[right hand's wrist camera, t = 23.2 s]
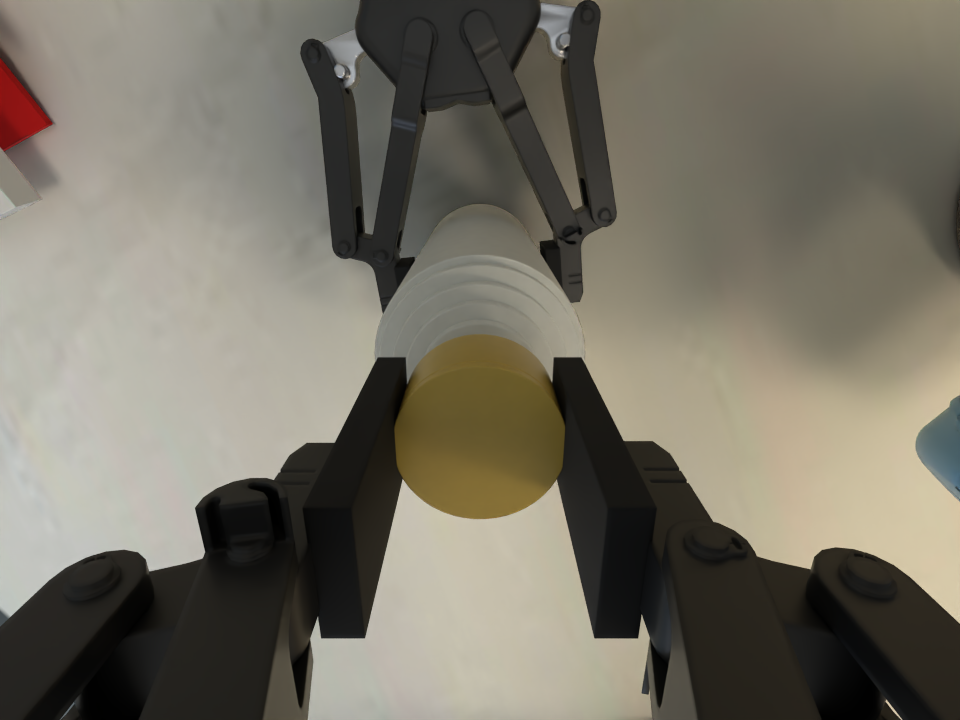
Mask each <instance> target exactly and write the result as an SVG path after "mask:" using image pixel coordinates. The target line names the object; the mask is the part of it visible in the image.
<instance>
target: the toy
mask: <svg viewBox="0 0 960 720" xmlns="http://www.w3.org/2000/svg"><path fill="white" fill-rule="evenodd" d="M52 124H53V123H52V122H51V121H50V119H49V118H48V117H47V116H46V114H45V113H44V112H43V111H42V109H41V108H40V107H39V106H38V105H37V103H36V102H35V101H34V100H33V98H32V97H31V96H30V95H29V93H28V92H27V91H26V90H25V88H24V87H23V86H22V85H21V83H20V82H19V81H18V80H17V78H16V77H15V76H14V75H13V73H12V72H11V71H10V70H9V68H8V67H7V66H6V65H5V63H4V62H3V61H2V60H1V58H0V219H3V218H6V217H8V216H10V215H12V214H14V213H16V212H18V211H19V210H21V209H23V208H25V207H27V206H29V205H31V204H33V203H35V202H37V201H39V200H41V199H42V198H41V197H40V195H39V194H38V193H37V192H36V190H35V189H34V188H33V187H32V186H31V184H30V183H29V182H28V181H27V179H26V178H25V177H24V176H23V174H22V173H21V172H20V171H19V170H18V168H17V167H16V166H15V165H14V163H13V162H12V161H11V160H10V158H9V157H8V156H7V155H6V154H5V152H4V151H6V150H7V149H9V148H11V147H13V146H15V145H16V144H18V143H20V142H22V141H23V140H25V139H27V138H29V137H31V136H32V135H34V134H36V133H38V132H40V131H41V130H43V129H45V128H47V127H48V126H50V125H52Z"/></svg>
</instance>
